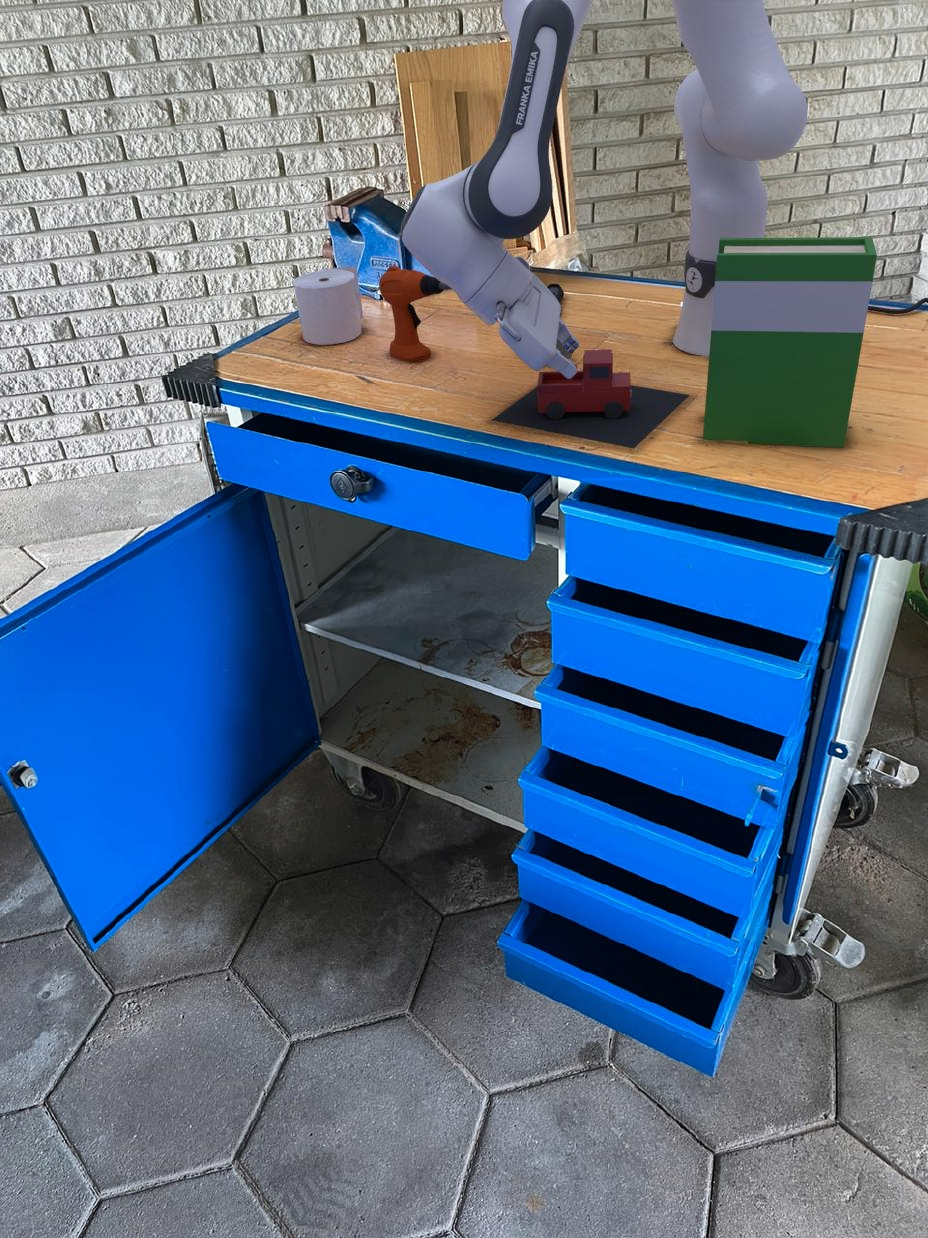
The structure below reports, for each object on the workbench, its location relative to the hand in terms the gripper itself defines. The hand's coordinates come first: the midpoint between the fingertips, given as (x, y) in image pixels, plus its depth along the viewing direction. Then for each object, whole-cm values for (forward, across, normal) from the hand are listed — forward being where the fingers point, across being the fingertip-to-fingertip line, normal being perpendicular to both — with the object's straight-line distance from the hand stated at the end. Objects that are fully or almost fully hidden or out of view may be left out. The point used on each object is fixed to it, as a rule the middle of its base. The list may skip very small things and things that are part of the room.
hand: (575, 360), depth 133 cm
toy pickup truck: (+6, 0, +4) cm, 8 cm away
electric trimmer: (+2, +45, +10) cm, 46 cm away
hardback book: (+24, -7, -13) cm, 28 cm away
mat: (+7, +1, +4) cm, 8 cm away
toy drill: (-12, +22, +23) cm, 34 cm away
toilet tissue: (-26, +36, +37) cm, 58 cm away
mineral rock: (+2, +24, +10) cm, 26 cm away
